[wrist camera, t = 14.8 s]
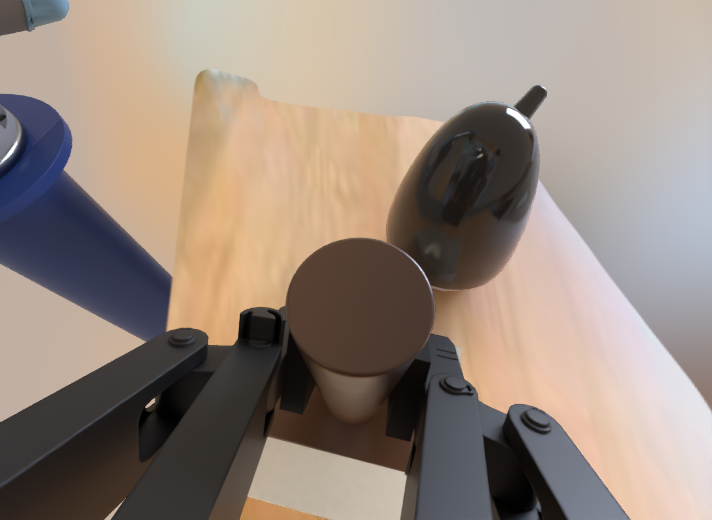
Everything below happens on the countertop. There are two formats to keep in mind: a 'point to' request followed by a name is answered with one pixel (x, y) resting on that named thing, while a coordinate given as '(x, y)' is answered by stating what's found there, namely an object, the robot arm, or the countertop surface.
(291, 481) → the tile
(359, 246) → the brown peg on base
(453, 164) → the black pear
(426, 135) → the countertop surface
